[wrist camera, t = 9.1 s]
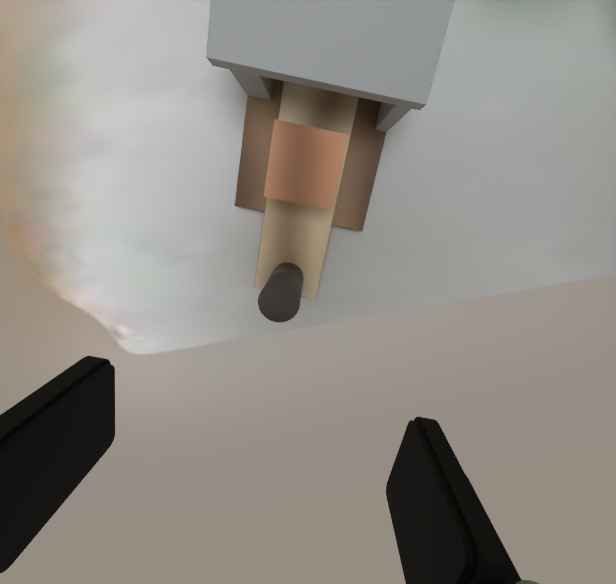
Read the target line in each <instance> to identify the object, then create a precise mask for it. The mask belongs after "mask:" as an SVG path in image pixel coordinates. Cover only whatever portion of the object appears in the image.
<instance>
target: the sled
mask: <svg viewBox="0 0 616 584" xmlns="http://www.w3.org/2000/svg"><path fill="white" fill-rule="evenodd" d="M358 98H359V97H356V96H352V95H347V94H342V93H338V92H333V91H328V90H324V89H319V88H314V87H310V86H305V85H300V84H296V83H291V82H287V81H284V85H283V92H282V99H281V105H280V112H279V119H278V120H276V119H275V120H274V127H273V134H272V141H271V148H270V155H269V162H268V169H267V176H266V183H265V190H264V197H267V201H266V208H265V214H264V221H263V228H262V235H261V242H260V249H259V255H258V262H257V269H256V276H255V283H254V287H256V288H261V289H262V291H261V293H260V295H259V298H258V305H259V309H260V311H261V313H262V314H263V315H264V316H265V317H266V318H267V319H269V320H271V321H274V322H285V321H288V320H290V319H291V318H293V317H294V316H295V315H296V313H297V312H298V309H299V305H300V299H301V296H302V297H308V298H313V299H316V295H317V290H318V286H319V281H320V276H321V272H322V267H323V262H324V258H325V253H326V248H327V243H328V239H329V234H330V229H331V225H332V220H333V215H334V211H335V206H336V201H337V197H338V192H339V187H340V182H341V178H342V173H343V168H344V164H345V159H346V154H347V150H348V145H349V140H350V136H351V131H352V126H353V121H354V117H355V112H356V107H357V103H358Z"/></svg>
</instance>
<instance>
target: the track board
mask: <svg viewBox="0 0 616 584" xmlns="http://www.w3.org/2000/svg"><path fill="white" fill-rule="evenodd" d="M283 85H284V81H282V80H277V79H274V86H273V93H272V100H266V99H261V98H257V97H252V96H248V98H247V107H246V115H245V124H244V132H243V141H242V149H241V158H240V166H239V175H238V184H237V192H236V201H235V206H239V207H244V208H249V209H254V210H259V211H264V212H265V208H266V201H267V197H264V190H265V183H266V176H267V169H268V162H269V155H270V148H271V141H272V134H273V127H274V120H275V119H276V120H278V119H279V112H280V105H281V99H282V92H283ZM380 105H381V102H379V101H375V100H370V99H365V98H361V97H359V98H358V103H357V107H356V112H355V117H354V121H353V126H352V131H351V136H350V140H349V145H348V150H347V154H346V159H345V164H344V168H343V173H342V178H341V182H340V187H339V192H338V197H337V201H336V206H335V211H334V215H333V220H332V225H334V226H339V227H344V228H349V229H354V230H359V231H362V229H363V225H364V221H365V217H366V213H367V209H368V205H369V200H370V196H371V192H372V188H373V184H374V180H375V176H376V172H377V168H378V164H379V160H380V155H381V151H382V147H383V143H384V139H385V135H386V132H384V131H380V130H375V126H376V122H377V118H378V114H379V109H380Z"/></svg>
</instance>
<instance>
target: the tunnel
mask: <svg viewBox="0 0 616 584" xmlns="http://www.w3.org/2000/svg"><path fill="white" fill-rule="evenodd" d="M453 4H454V0H211V4H210V17H209V30H208V42H207V55H206V57H207V59H208V60H209V61H210V62H211V64H212V65H213V66H217V67H221V68H226V69H230V70H231V72H232V73H233V75H234V76H235V78H236V79H237V81H238V82H239V83H240V85H241V86H242V88H243V89H244V91H245V92H246V94H247V95H248V96H252V97H257V98H261V99H266V100H272V93H273V86H274V79H277V80H282V81H287V82H291V83H296V84H300V85H305V86H310V87H314V88H319V89H324V90H328V91H333V92H338V93H342V94H347V95H352V96H356V97H361V98H365V99H370V100H375V101H379V102H381V105H380V109H379V114H378V118H377V122H376V126H375V130H380V131H384V132H387V131H388V130H389V129H390V128H391V127H392V126H393V125H394V124H395V123H396V122H398V121H399V120H400V119H401V118H402V117H403V116H404V115H405V114H406V113H407V112H408V111H409V110H411V109H417V110H420V109H421V108H423V107H424V106H425V105H426V103H427V99H428V96H429V92H430V88H431V85H432V81H433V77H434V74H435V70H436V66H437V63H438V59H439V55H440V52H441V48H442V44H443V41H444V37H445V33H446V30H447V26H448V22H449V19H450V15H451V11H452V8H453Z"/></svg>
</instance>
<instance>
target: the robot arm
mask: <svg viewBox="0 0 616 584" xmlns="http://www.w3.org/2000/svg"><path fill="white" fill-rule="evenodd" d="M114 436H115V369H114V366H112V365H110V361H109V360H107V359H103V358H97V357H92V356H86V357H84V358H83V359H81V360H80V361H78V362H77V363H75V364H74V365H73V366H71V367H70V368H68V369H67V370H65V371H64V372H62V373H61V374H59V375H58V376H57V377H55V378H54V379H52V380H51V381H49V382H48V383H46V384H45V385H44V386H42V387H41V388H39V389H38V390H36V391H35V392H33V393H32V394H30V395H29V396H28V397H26V398H25V399H23V400H22V401H20V402H19V403H17V404H16V405H14V406H13V407H12V408H10V409H9V410H7V411H6V412H4V413H3V414H1V415H0V573H2V572H4V571H5V570H7V569H8V568H9V567H10V565H12V563H13V562H14V561H15V560H16V559H17V558H18V556H19V555H20V554H21V553H22V552H23V550H24V549H25V548H26V547H27V545H28V544H29V543H30V542H31V541H32V540H33V538H34V537H35V536H36V535H37V534H38V532H39V531H40V530H41V529H42V527H43V526H44V525H45V524H46V523H47V522H48V520H49V519H50V518H51V517H52V516H53V514H54V513H55V512H56V511H57V510H58V508H59V507H60V506H61V505H62V504H63V502H64V501H65V500H66V499H67V498H68V496H69V495H70V494H71V493H72V492H73V490H74V489H75V488H76V487H77V486H78V484H79V483H80V482H81V481H82V480H83V478H84V477H85V476H86V475H87V473H88V472H89V471H90V470H91V469H92V468H93V466H94V465H95V464H96V463H97V462H98V460H99V459H100V458H101V457H102V456H103V454H104V453H105V452H106V450H107V449H108V448H109V447H110V446H111V444H112V442H113V440H114ZM386 495H387V500H388V505H389V510H390V514H391V518H392V523H393V527H394V532H395V536H396V541H397V545H398V550H399V554H400V559H401V563H402V568H403V572H404V577H405V581H406V584H539V583H536V582H534V581H530V580H521V578H520V577H519V575H518V573H517V571H516V569H515V567H514V565H513V563H512V561H511V559H510V558H509V556H508V554H507V552H506V550H505V548H504V546H503V544H502V542H501V540H500V538H499V536H498V535H497V533H496V531H495V529H494V527H493V525H492V523H491V521H490V519H489V517H488V515H487V514H486V512H485V510H484V508H483V506H482V504H481V502H480V500H479V498H478V497H477V494H476V493H475V491H474V489H473V487H472V485H471V483H470V481H469V479H468V478H467V476H466V475H465V473H464V472H463V470H462V468H461V466H460V464H459V462H458V460H457V458H456V457H455V454H454V452H453V451H452V448H451V447H450V445H449V443H448V441H447V439H446V437H445V435H444V433H443V431H442V429H441V427H440V425H439V424H438V422H437V421H436V420H433V419H428V418H422V417H416V418H415V420H414V421H412V420H411V421H409V423H408V426H407V428H406V431H405V434H404V437H403V440H402V442H401V445H400V448H399V451H398V454H397V457H396V459H395V462H394V465H393V468H392V471H391V474H390V476H389V479H388V482H387V487H386Z"/></svg>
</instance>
